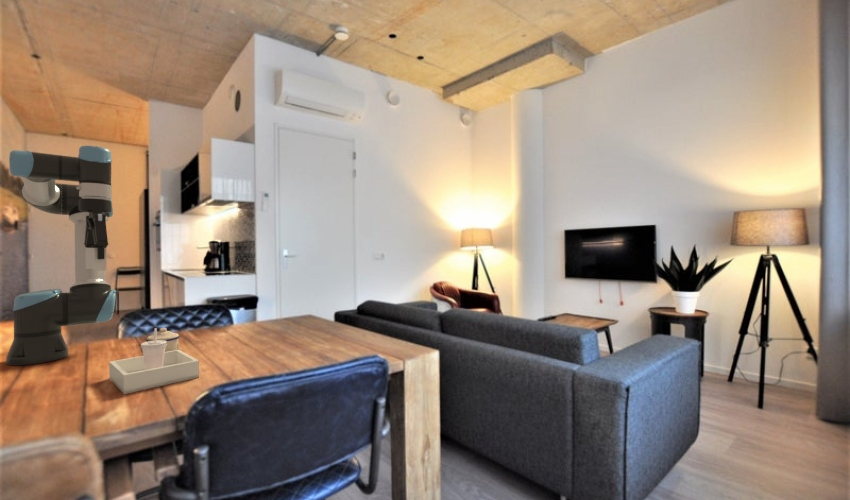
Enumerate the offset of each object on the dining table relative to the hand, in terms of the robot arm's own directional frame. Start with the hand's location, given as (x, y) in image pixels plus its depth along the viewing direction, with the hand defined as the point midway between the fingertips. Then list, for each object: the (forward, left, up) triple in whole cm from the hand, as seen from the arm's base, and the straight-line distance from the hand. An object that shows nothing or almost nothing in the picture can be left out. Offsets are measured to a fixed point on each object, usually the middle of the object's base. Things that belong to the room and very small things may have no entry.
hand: (95, 269), depth 118 cm
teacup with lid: (0, +17, -32) cm, 36 cm away
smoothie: (+16, +11, -31) cm, 37 cm away
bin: (+16, +11, -32) cm, 37 cm away
